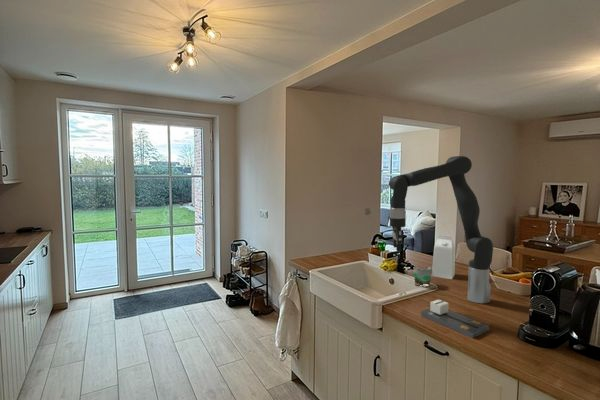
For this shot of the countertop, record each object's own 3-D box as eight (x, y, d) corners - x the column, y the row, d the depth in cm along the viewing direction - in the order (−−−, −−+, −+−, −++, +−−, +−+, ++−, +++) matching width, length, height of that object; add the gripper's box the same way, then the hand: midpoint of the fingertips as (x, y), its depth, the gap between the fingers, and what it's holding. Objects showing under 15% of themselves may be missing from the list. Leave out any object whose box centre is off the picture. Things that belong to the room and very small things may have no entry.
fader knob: (430, 310, 146) (430, 301, 145) (438, 307, 149) (438, 299, 148) (440, 314, 141) (440, 305, 141) (448, 311, 145) (448, 302, 144)
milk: (454, 274, 207) (456, 234, 205) (452, 279, 197) (453, 237, 195) (434, 271, 213) (436, 232, 211) (431, 275, 203) (432, 235, 201)
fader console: (421, 315, 146) (421, 311, 146) (437, 309, 153) (437, 305, 152) (472, 338, 126) (472, 333, 126) (489, 330, 132) (489, 325, 132)
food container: (421, 289, 180) (422, 271, 179) (413, 285, 185) (413, 268, 184) (436, 285, 186) (437, 268, 185) (427, 282, 191) (428, 266, 190)
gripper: (408, 219, 150) (408, 252, 152) (402, 215, 164) (402, 246, 166) (392, 218, 151) (391, 252, 153) (387, 215, 165) (387, 245, 167)
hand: (397, 249), depth 159 cm, fingers open, 8 cm apart
